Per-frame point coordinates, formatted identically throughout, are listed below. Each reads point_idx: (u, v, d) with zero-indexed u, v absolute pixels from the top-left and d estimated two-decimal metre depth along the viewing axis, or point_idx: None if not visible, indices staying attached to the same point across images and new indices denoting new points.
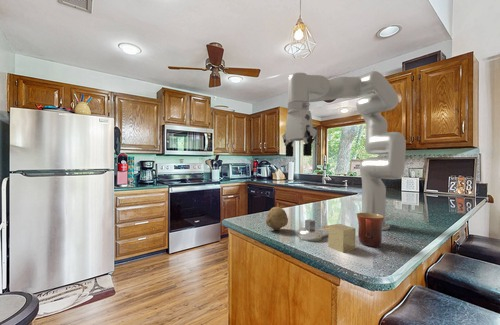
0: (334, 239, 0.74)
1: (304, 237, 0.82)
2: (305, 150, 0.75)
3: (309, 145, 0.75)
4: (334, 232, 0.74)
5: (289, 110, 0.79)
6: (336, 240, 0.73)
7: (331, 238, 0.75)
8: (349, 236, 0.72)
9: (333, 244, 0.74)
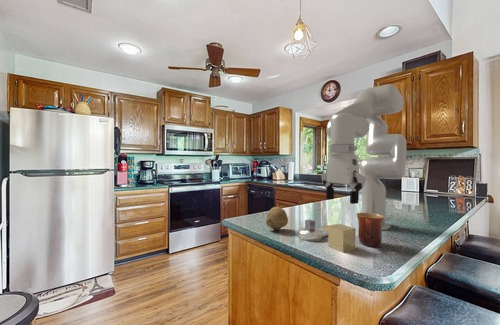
0: (334, 239, 0.74)
1: (304, 237, 0.82)
2: (352, 198, 0.70)
3: (357, 192, 0.70)
4: (334, 232, 0.74)
5: (333, 152, 0.74)
6: (336, 240, 0.73)
7: (331, 238, 0.75)
8: (349, 236, 0.72)
9: (333, 244, 0.74)
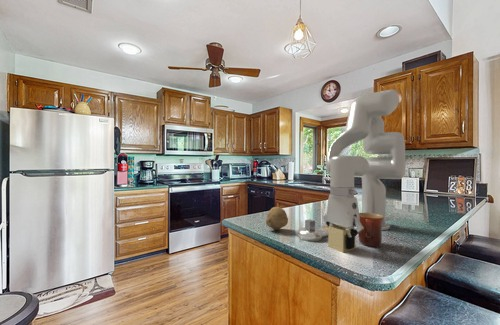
0: (334, 239, 0.74)
1: (304, 237, 0.82)
2: (348, 244, 0.71)
3: (353, 238, 0.71)
4: (334, 232, 0.74)
5: (333, 195, 0.74)
6: (336, 240, 0.73)
7: (331, 238, 0.75)
8: None
9: (333, 244, 0.74)
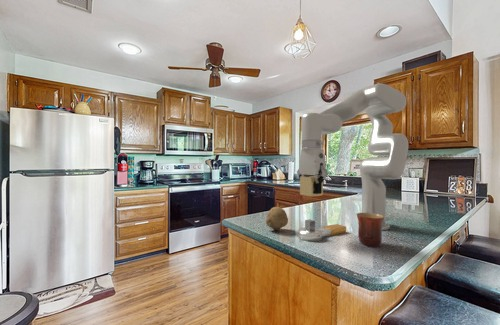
0: (304, 187, 0.84)
1: (304, 237, 0.82)
2: (316, 189, 0.81)
3: (319, 184, 0.81)
4: (304, 180, 0.84)
5: (303, 147, 0.84)
6: (306, 187, 0.83)
7: (302, 186, 0.85)
8: None
9: (303, 191, 0.84)
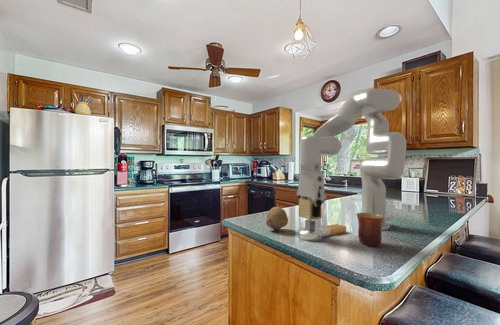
0: (303, 209, 0.85)
1: (304, 237, 0.82)
2: (314, 212, 0.82)
3: (318, 207, 0.82)
4: (303, 203, 0.85)
5: (302, 170, 0.84)
6: (304, 209, 0.84)
7: (301, 209, 0.86)
8: None
9: (302, 213, 0.85)
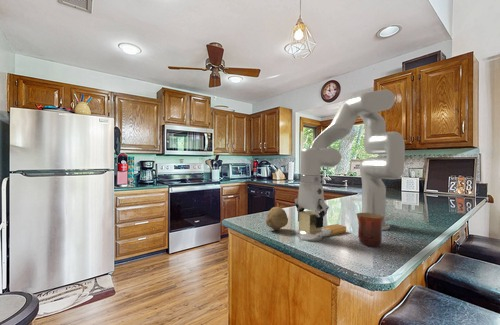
0: (303, 223, 0.85)
1: (304, 237, 0.82)
2: (317, 223, 0.80)
3: (321, 218, 0.80)
4: (303, 217, 0.85)
5: (302, 182, 0.84)
6: (304, 223, 0.84)
7: (301, 222, 0.86)
8: (315, 220, 0.83)
9: (302, 227, 0.85)
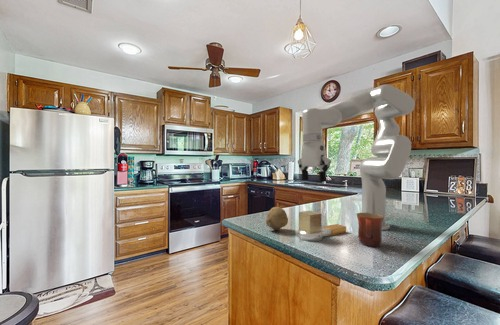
0: (303, 223, 0.85)
1: (304, 237, 0.82)
2: (321, 177, 0.86)
3: (324, 172, 0.86)
4: (303, 217, 0.85)
5: (305, 141, 0.90)
6: (304, 223, 0.84)
7: (301, 222, 0.86)
8: (315, 220, 0.83)
9: (302, 227, 0.85)
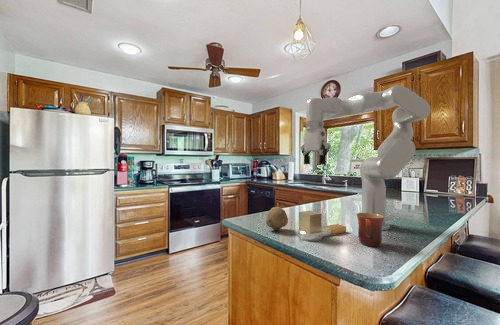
0: (303, 223, 0.85)
1: (304, 237, 0.82)
2: (321, 160, 0.95)
3: (324, 156, 0.95)
4: (303, 217, 0.85)
5: (307, 127, 0.99)
6: (304, 223, 0.84)
7: (301, 222, 0.86)
8: (315, 220, 0.83)
9: (302, 227, 0.85)
